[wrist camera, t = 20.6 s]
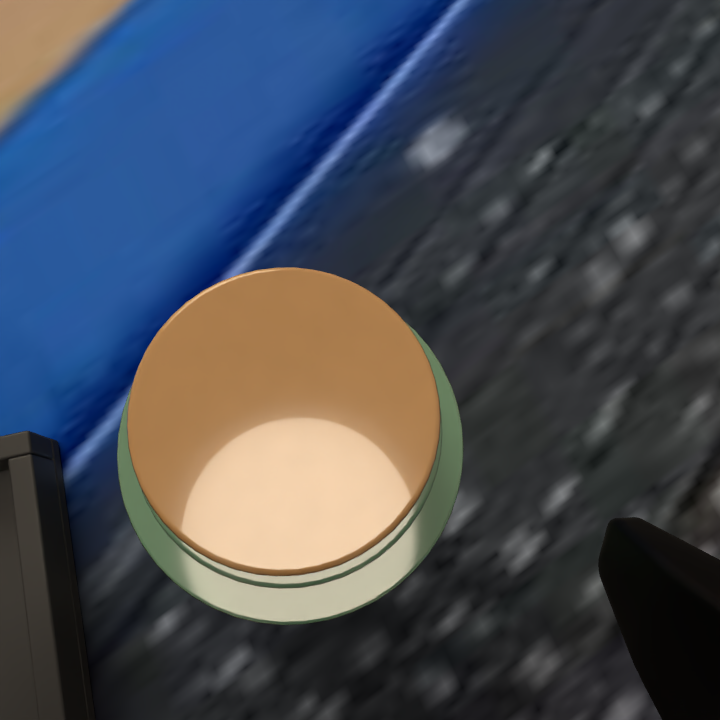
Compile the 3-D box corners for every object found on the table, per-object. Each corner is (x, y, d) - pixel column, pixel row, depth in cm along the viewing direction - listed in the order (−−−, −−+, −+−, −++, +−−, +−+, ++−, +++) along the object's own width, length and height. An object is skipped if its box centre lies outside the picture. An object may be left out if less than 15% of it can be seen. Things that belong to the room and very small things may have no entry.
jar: (365, 606, 18) (445, 722, 7) (182, 548, 18) (-30, 571, 7) (417, 423, 19) (553, 276, 8) (246, 370, 19) (153, 154, 8)
